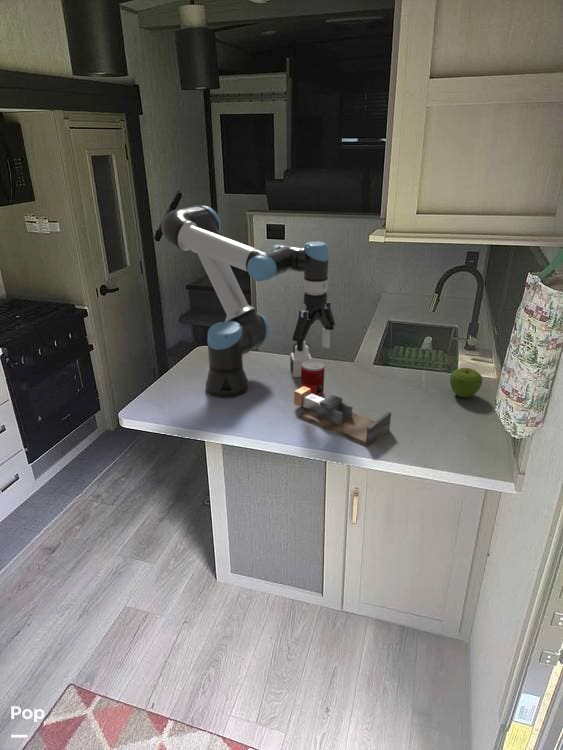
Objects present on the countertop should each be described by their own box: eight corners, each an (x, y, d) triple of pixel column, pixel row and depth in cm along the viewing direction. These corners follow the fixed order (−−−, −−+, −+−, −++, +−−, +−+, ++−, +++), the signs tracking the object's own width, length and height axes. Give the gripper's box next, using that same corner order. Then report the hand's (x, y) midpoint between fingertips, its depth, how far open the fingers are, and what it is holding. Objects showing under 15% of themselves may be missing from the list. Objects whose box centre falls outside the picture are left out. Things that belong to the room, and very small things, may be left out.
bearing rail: (299, 417, 166) (299, 399, 163) (321, 403, 174) (322, 386, 172) (368, 446, 151) (370, 427, 148) (389, 430, 159) (391, 411, 156)
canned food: (321, 399, 177) (323, 370, 172) (298, 396, 179) (299, 368, 174) (324, 389, 184) (326, 360, 179) (302, 387, 185) (303, 359, 181)
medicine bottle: (290, 369, 199) (290, 340, 193) (308, 368, 199) (309, 339, 194) (292, 377, 192) (293, 347, 187) (311, 376, 193) (312, 347, 188)
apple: (448, 386, 186) (452, 361, 182) (479, 391, 183) (484, 365, 179) (446, 399, 177) (450, 373, 173) (478, 405, 174) (483, 378, 169)
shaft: (294, 403, 171) (294, 391, 169) (303, 398, 174) (303, 386, 172) (331, 419, 162) (331, 405, 160) (339, 413, 165) (340, 400, 163)
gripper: (300, 303, 155) (299, 367, 164) (347, 285, 172) (344, 344, 181) (281, 298, 159) (281, 361, 168) (328, 281, 176) (326, 339, 185)
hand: (313, 353), depth 174 cm, fingers open, 13 cm apart
